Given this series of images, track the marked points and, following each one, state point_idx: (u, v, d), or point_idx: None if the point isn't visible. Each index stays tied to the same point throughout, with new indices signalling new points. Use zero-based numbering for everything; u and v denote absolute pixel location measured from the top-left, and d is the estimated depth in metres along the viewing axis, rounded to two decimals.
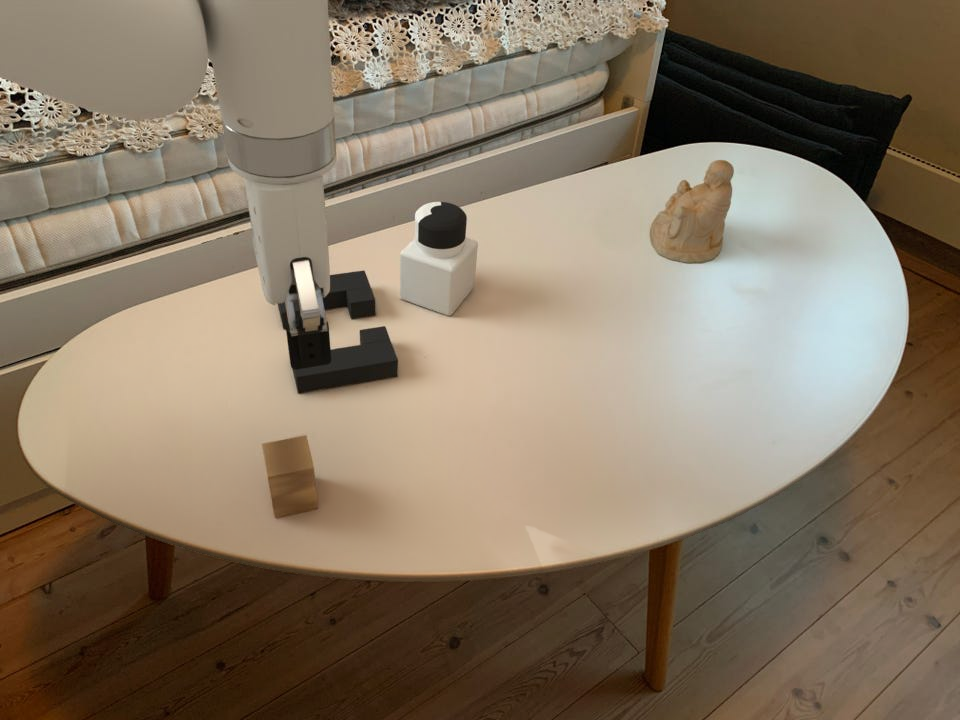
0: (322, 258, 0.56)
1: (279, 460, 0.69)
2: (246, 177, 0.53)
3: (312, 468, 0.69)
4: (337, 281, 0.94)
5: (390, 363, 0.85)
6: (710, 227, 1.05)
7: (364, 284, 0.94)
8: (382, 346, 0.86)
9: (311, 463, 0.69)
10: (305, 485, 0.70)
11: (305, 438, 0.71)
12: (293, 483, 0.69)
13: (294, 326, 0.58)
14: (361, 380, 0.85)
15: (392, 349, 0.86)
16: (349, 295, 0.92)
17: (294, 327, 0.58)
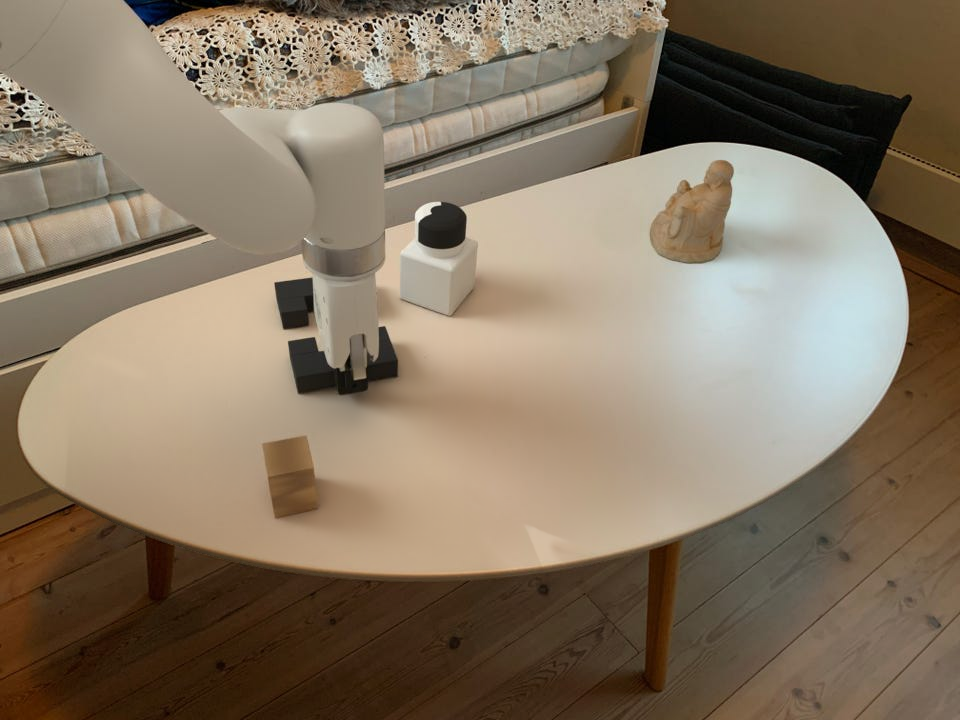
0: (374, 334, 0.72)
1: (279, 460, 0.69)
2: (318, 275, 0.69)
3: (312, 468, 0.69)
4: None
5: (390, 363, 0.85)
6: (710, 227, 1.05)
7: None
8: (382, 346, 0.86)
9: (311, 463, 0.69)
10: (305, 485, 0.70)
11: (305, 438, 0.71)
12: (293, 483, 0.69)
13: (343, 369, 0.78)
14: None
15: (392, 349, 0.86)
16: None
17: (343, 369, 0.78)
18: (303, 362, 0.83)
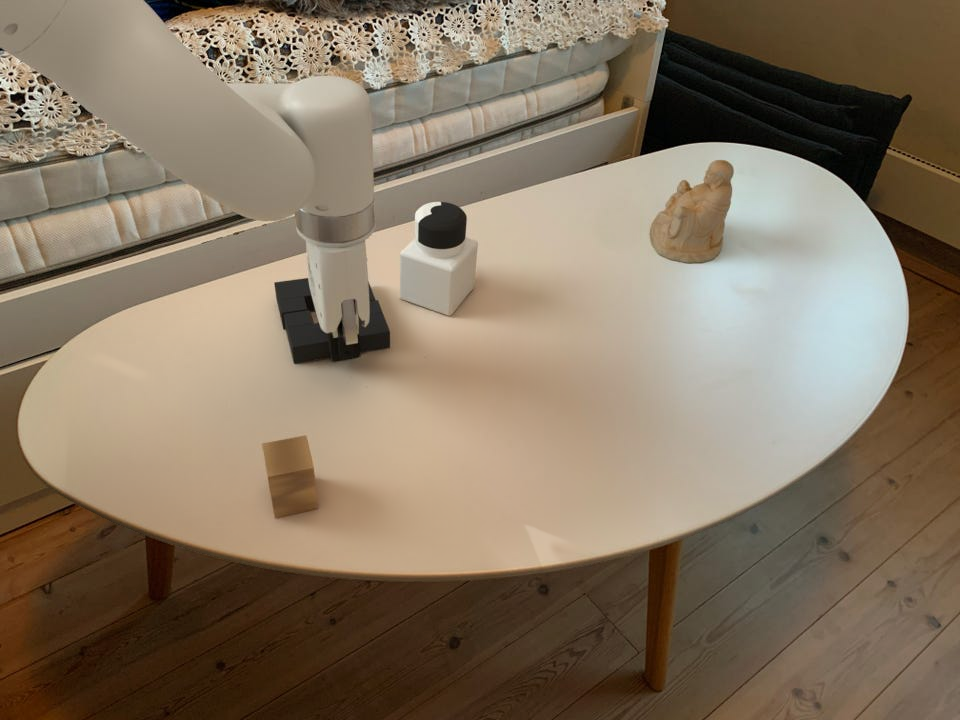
0: (364, 299, 0.76)
1: (279, 460, 0.69)
2: (310, 242, 0.72)
3: (312, 468, 0.69)
4: None
5: (382, 335, 0.88)
6: (710, 227, 1.05)
7: None
8: (375, 318, 0.90)
9: (311, 463, 0.69)
10: (305, 485, 0.70)
11: (305, 438, 0.71)
12: (293, 483, 0.69)
13: (336, 335, 0.82)
14: None
15: (384, 321, 0.89)
16: None
17: (336, 336, 0.82)
18: (299, 333, 0.87)
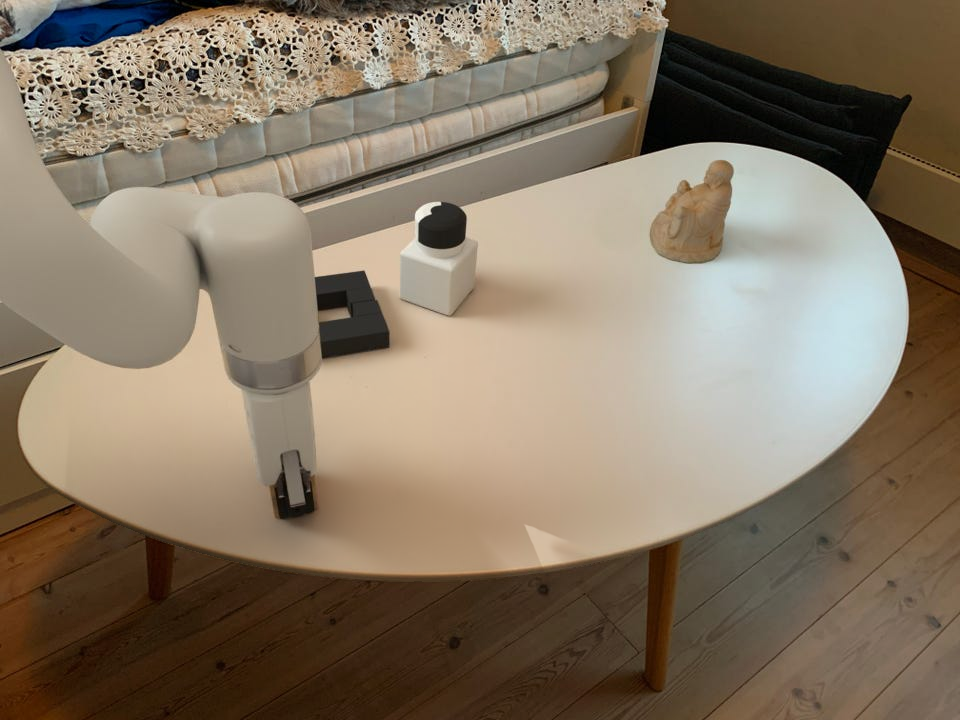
0: (309, 448, 0.62)
1: None
2: (240, 387, 0.59)
3: None
4: (337, 281, 0.94)
5: (381, 334, 0.88)
6: (710, 227, 1.05)
7: (364, 284, 0.94)
8: (374, 318, 0.90)
9: None
10: None
11: None
12: None
13: (282, 493, 0.67)
14: (354, 350, 0.88)
15: (384, 321, 0.89)
16: (349, 295, 0.92)
17: (282, 494, 0.67)
18: None
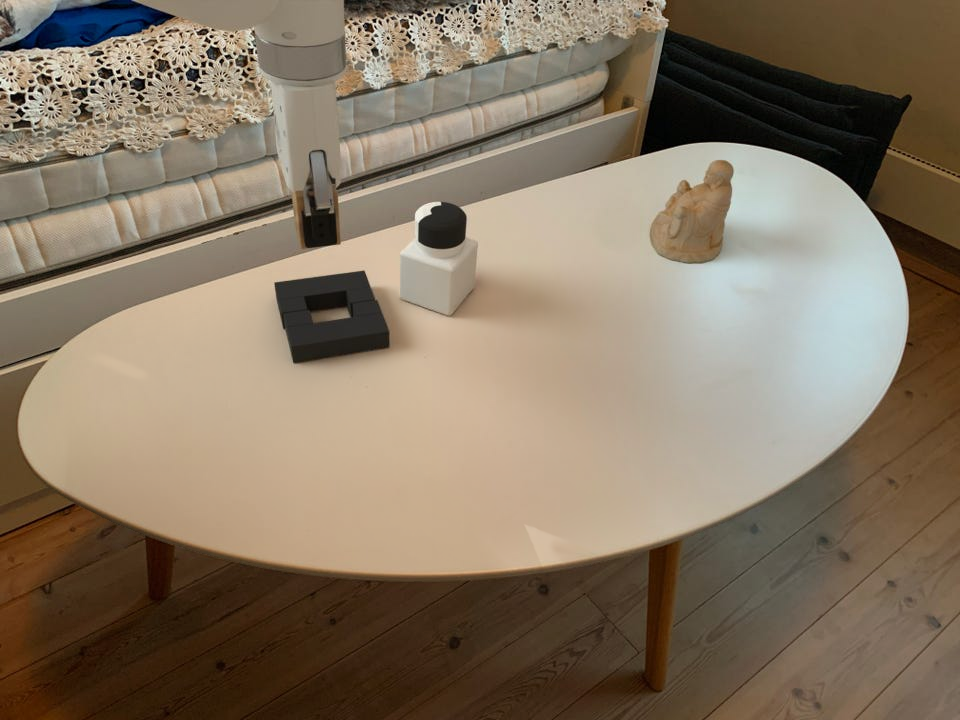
0: (335, 151, 0.69)
1: None
2: (274, 81, 0.65)
3: (336, 193, 0.75)
4: (337, 281, 0.94)
5: (381, 334, 0.88)
6: (710, 227, 1.05)
7: (364, 284, 0.94)
8: (374, 318, 0.90)
9: (335, 190, 0.75)
10: None
11: None
12: None
13: (308, 210, 0.73)
14: (354, 350, 0.88)
15: (384, 321, 0.89)
16: (349, 295, 0.92)
17: (308, 211, 0.73)
18: (298, 333, 0.87)
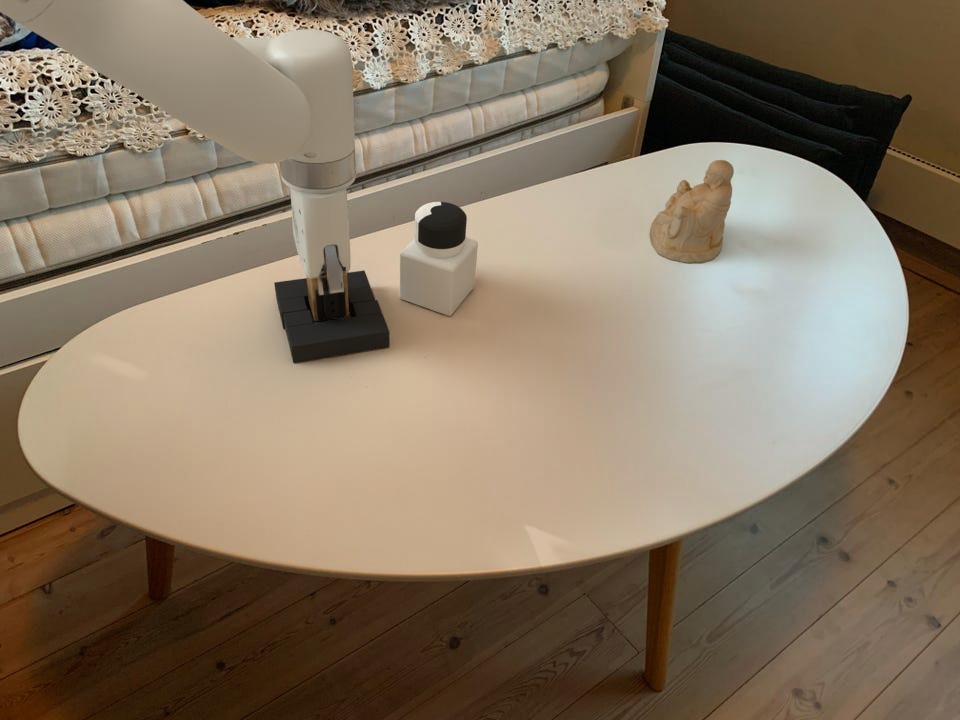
0: (345, 245, 0.80)
1: None
2: (294, 189, 0.77)
3: (346, 275, 0.86)
4: None
5: (381, 334, 0.88)
6: (710, 227, 1.05)
7: (364, 284, 0.94)
8: (374, 318, 0.90)
9: None
10: None
11: None
12: None
13: (322, 291, 0.84)
14: (354, 350, 0.88)
15: (384, 321, 0.89)
16: (349, 295, 0.92)
17: (322, 292, 0.85)
18: (298, 333, 0.87)
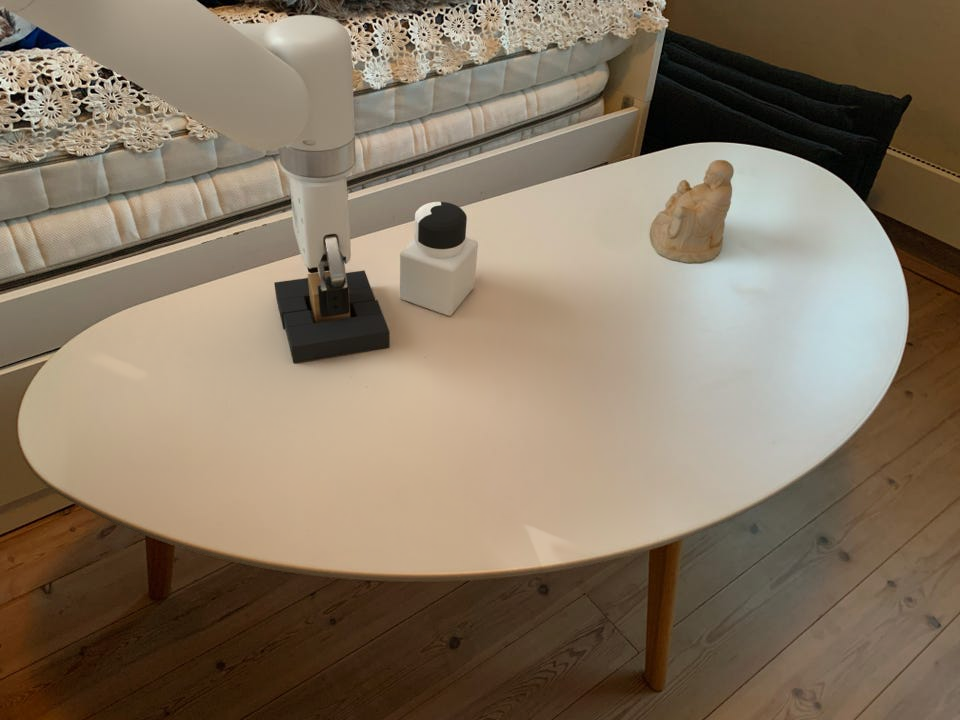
0: (345, 234, 0.79)
1: None
2: (294, 177, 0.76)
3: None
4: None
5: (381, 335, 0.88)
6: (710, 227, 1.05)
7: (364, 284, 0.94)
8: (374, 318, 0.90)
9: None
10: None
11: None
12: None
13: (324, 285, 0.82)
14: (354, 351, 0.88)
15: (384, 321, 0.89)
16: (349, 295, 0.92)
17: (324, 285, 0.82)
18: (298, 333, 0.87)
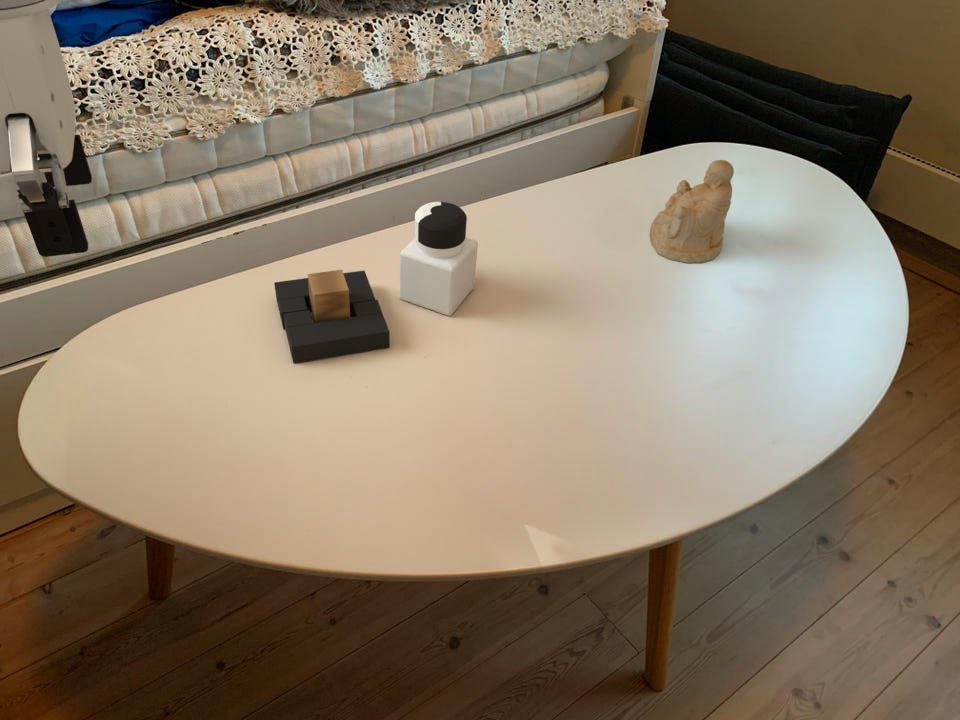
0: (46, 116, 0.49)
1: (322, 284, 0.88)
2: None
3: (347, 290, 0.88)
4: None
5: (381, 335, 0.88)
6: (710, 227, 1.05)
7: (364, 284, 0.94)
8: (374, 318, 0.90)
9: (346, 287, 0.88)
10: (342, 306, 0.89)
11: (341, 271, 0.90)
12: (333, 302, 0.88)
13: None
14: (354, 351, 0.88)
15: (384, 321, 0.89)
16: (349, 295, 0.92)
17: None
18: (298, 333, 0.87)
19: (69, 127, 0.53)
